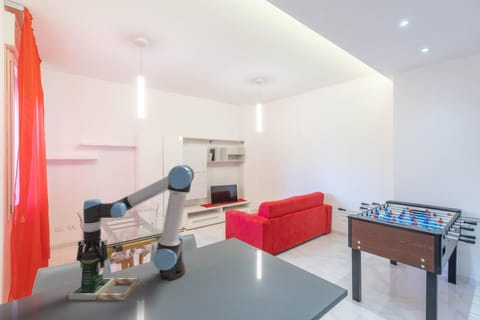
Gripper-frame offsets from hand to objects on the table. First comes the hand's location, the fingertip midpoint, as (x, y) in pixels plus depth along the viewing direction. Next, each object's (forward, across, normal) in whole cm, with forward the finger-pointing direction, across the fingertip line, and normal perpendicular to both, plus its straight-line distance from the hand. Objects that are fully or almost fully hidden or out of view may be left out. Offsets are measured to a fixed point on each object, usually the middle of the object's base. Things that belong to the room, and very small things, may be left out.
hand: (92, 273), depth 116 cm
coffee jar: (+6, 0, 0) cm, 6 cm away
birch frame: (+9, -14, 0) cm, 17 cm away
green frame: (+9, 0, 0) cm, 9 cm away
